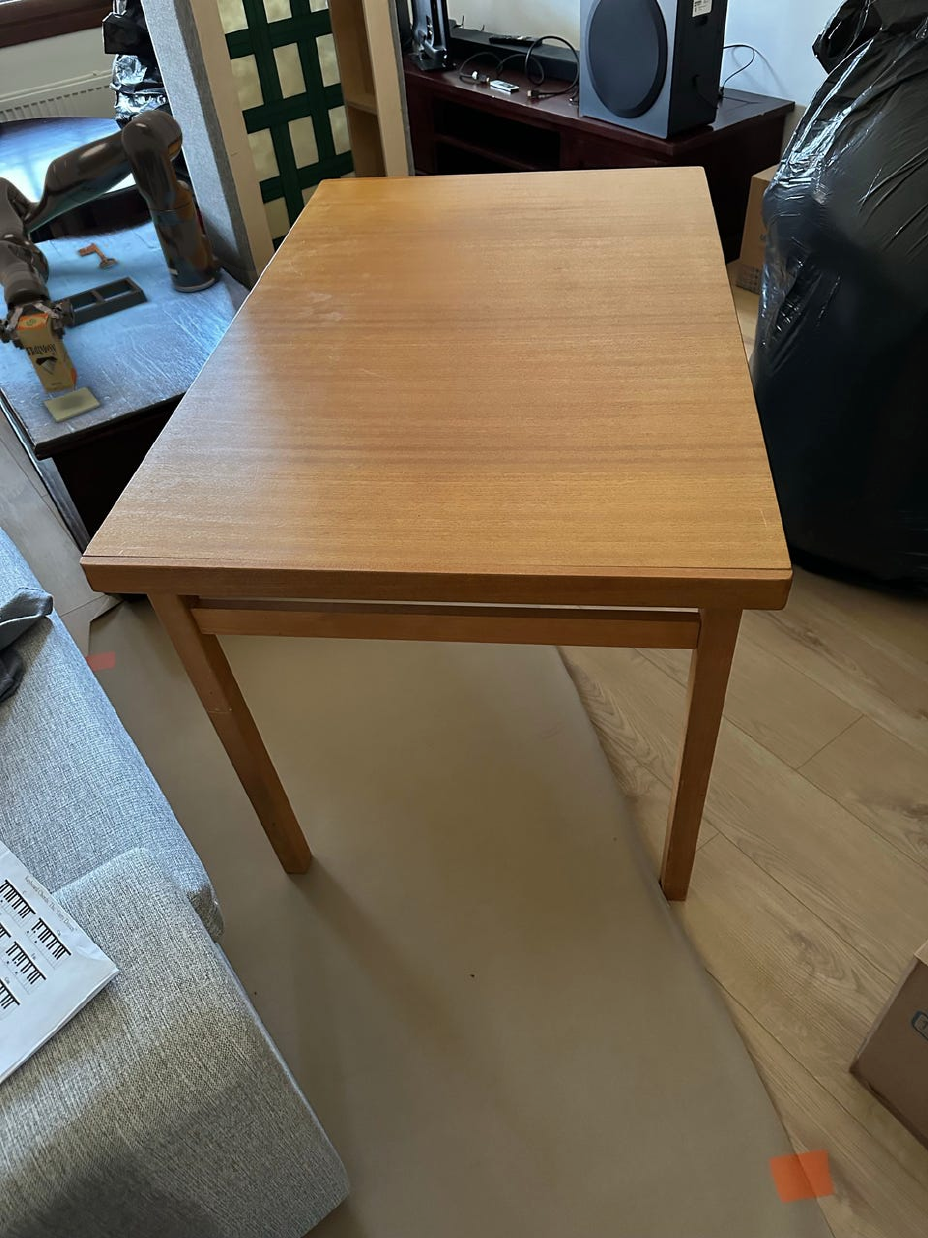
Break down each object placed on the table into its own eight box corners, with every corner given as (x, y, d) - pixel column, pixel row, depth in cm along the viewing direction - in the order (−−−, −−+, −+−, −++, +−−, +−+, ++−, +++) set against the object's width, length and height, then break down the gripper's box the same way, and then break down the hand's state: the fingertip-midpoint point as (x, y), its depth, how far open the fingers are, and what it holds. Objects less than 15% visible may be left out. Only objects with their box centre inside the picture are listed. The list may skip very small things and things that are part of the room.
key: (78, 251, 203) (94, 272, 194) (76, 248, 202) (92, 268, 193) (101, 243, 205) (118, 263, 195) (99, 239, 204) (116, 259, 195)
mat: (86, 388, 158) (85, 386, 158) (100, 406, 154) (99, 403, 153) (44, 404, 155) (43, 401, 155) (57, 422, 151) (56, 420, 150)
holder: (132, 287, 187) (128, 276, 185) (147, 300, 182) (143, 289, 180) (57, 312, 181) (52, 301, 179) (70, 327, 176) (65, 316, 174)
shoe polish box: (74, 388, 150) (46, 326, 141) (46, 393, 149) (15, 330, 141) (77, 374, 153) (49, 312, 144) (49, 379, 153) (19, 317, 144)
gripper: (76, 308, 158) (90, 347, 147) (-3, 329, 154) (5, 371, 143) (60, 268, 152) (73, 307, 141) (-23, 289, 148) (-16, 330, 138)
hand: (39, 339), depth 142 cm, fingers closed on shoe polish box, 6 cm apart
